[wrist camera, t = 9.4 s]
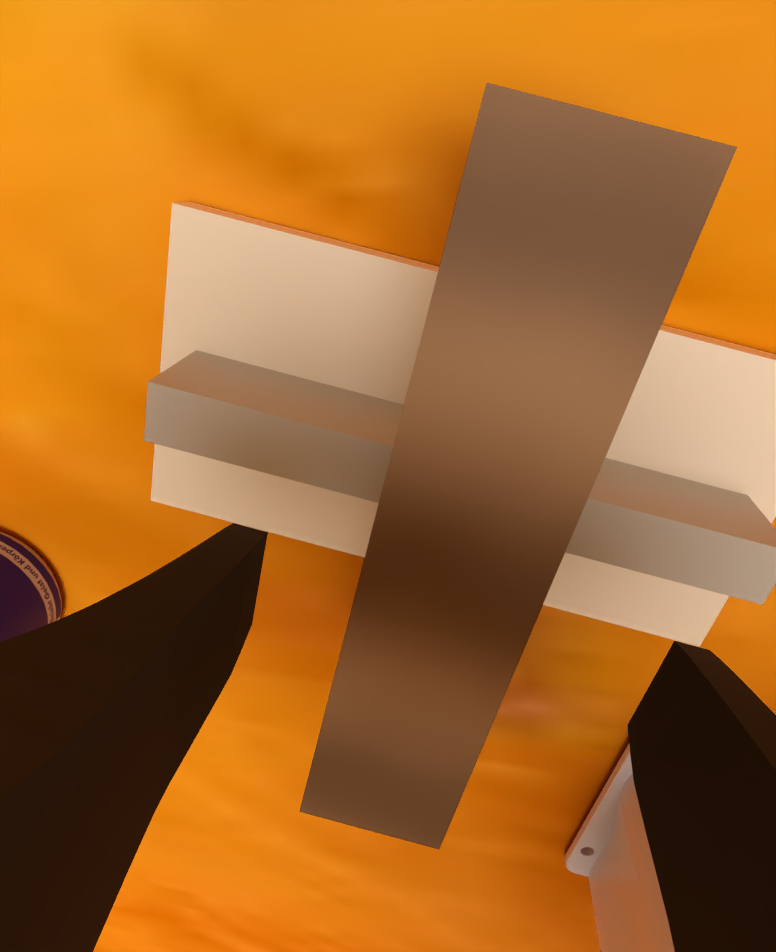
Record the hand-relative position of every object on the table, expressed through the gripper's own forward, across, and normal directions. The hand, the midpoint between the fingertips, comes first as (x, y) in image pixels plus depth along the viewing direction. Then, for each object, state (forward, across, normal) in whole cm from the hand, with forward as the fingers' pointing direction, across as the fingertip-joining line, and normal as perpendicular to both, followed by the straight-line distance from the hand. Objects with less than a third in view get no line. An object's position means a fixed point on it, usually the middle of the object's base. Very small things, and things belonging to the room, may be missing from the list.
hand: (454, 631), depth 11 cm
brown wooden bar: (+5, 0, 0) cm, 5 cm away
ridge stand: (+9, 0, 0) cm, 9 cm away
